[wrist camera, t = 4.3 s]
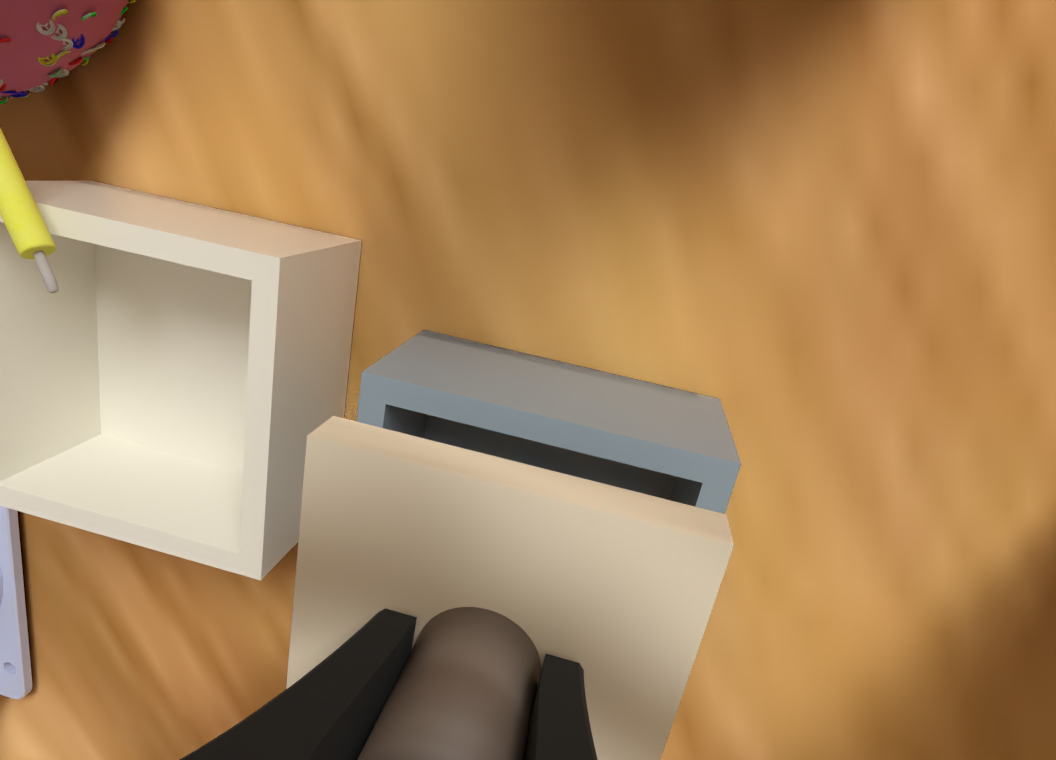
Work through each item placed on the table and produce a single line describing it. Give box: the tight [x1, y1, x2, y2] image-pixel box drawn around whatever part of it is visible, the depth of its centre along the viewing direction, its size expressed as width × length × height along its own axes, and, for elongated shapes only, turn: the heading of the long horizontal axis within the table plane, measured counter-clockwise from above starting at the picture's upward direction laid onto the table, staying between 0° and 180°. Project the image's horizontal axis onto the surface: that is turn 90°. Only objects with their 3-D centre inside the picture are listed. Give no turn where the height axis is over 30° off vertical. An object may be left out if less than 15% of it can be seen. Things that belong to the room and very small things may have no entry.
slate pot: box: [357, 330, 741, 514], centre depth 16 cm, size 8×8×4 cm
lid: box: [286, 416, 734, 760], centre depth 11 cm, size 7×7×4 cm
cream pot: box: [0, 180, 362, 580], centre depth 17 cm, size 8×8×4 cm
